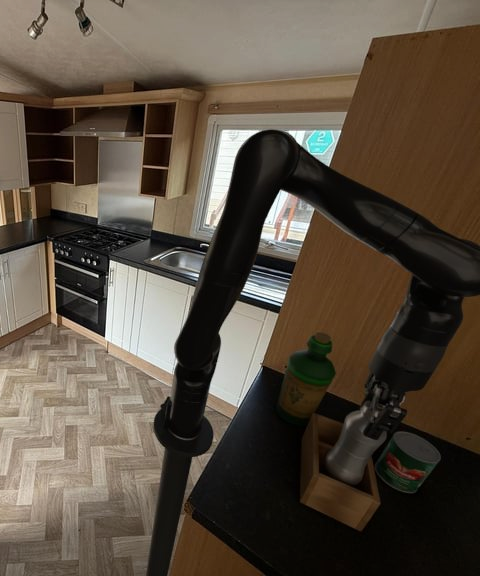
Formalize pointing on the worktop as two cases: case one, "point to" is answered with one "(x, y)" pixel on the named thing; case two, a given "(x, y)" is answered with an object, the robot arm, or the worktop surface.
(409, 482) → the canned tomato
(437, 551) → the worktop surface
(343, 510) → the bottle rack
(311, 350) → the bottle
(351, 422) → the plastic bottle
